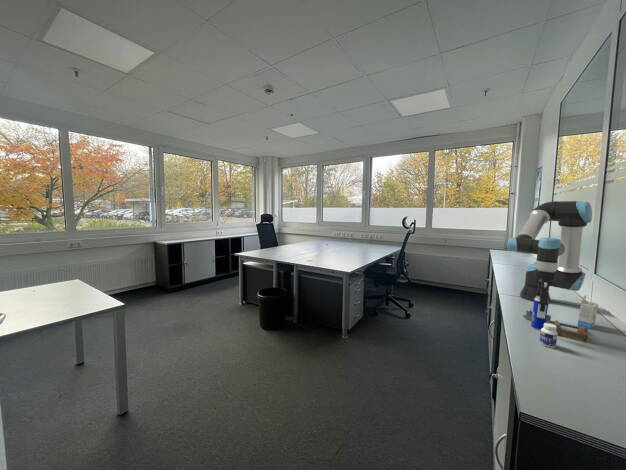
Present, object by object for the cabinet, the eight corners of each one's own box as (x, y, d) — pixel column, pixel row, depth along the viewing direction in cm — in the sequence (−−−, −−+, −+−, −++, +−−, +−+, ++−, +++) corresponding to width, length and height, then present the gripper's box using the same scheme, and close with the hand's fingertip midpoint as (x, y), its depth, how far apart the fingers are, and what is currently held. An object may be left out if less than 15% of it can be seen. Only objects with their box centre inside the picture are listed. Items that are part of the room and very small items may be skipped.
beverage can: (531, 325, 128) (535, 296, 126) (545, 328, 124) (549, 299, 123) (530, 328, 124) (533, 298, 123) (544, 332, 121) (548, 301, 119)
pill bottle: (536, 342, 110) (538, 323, 109) (543, 340, 112) (545, 321, 111) (551, 349, 105) (554, 328, 105) (558, 347, 108) (561, 326, 107)
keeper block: (523, 316, 138) (523, 311, 138) (585, 330, 124) (585, 324, 124) (524, 327, 125) (525, 321, 125) (594, 344, 111) (595, 337, 110)
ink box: (591, 329, 125) (596, 300, 124) (577, 325, 129) (581, 297, 128) (595, 325, 130) (599, 297, 128) (581, 321, 134) (585, 294, 132)
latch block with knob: (525, 317, 136) (526, 308, 136) (549, 322, 131) (550, 313, 130) (525, 318, 135) (526, 309, 134) (549, 324, 129) (551, 314, 128)
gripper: (533, 265, 133) (528, 304, 135) (537, 273, 114) (531, 319, 116) (552, 267, 129) (547, 308, 131) (560, 276, 109) (553, 324, 111)
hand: (539, 313), depth 123 cm, fingers open, 13 cm apart
